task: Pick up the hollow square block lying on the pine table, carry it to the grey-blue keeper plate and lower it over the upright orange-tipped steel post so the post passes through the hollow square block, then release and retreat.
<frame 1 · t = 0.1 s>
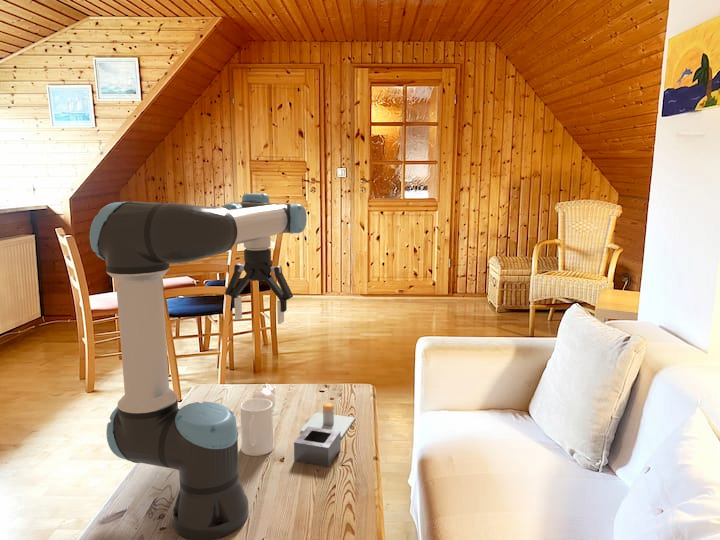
hand: (259, 320, 158), 28 cm above the table, fingers open, 13 cm apart
keeper: (328, 425, 154), on the table
hollow square block: (317, 455, 138), on the table
mug: (255, 451, 140), on the table
figurine: (264, 408, 166), on the table
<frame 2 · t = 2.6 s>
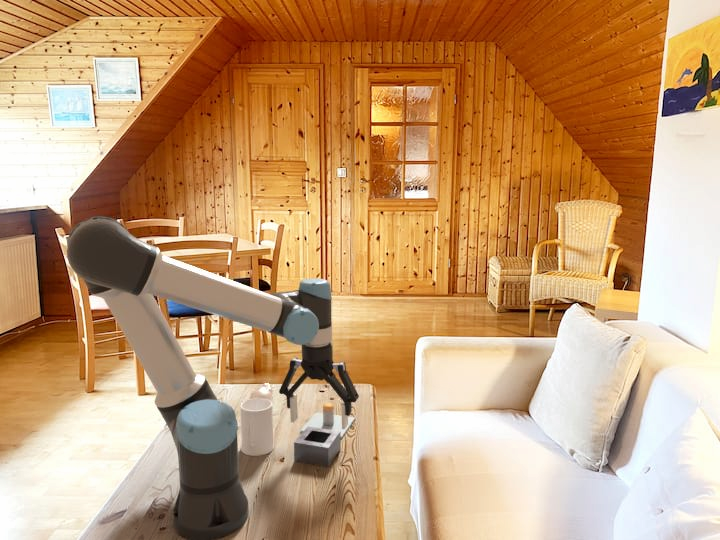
hand: (319, 423, 137), 8 cm above the table, fingers open, 13 cm apart
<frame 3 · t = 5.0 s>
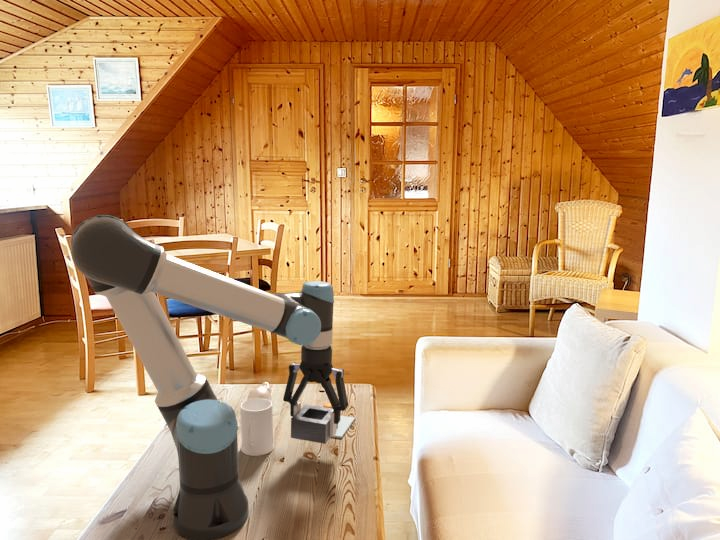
hand: (314, 431, 136), 7 cm above the table, fingers closed on hollow square block, 9 cm apart
hollow square block: (314, 432, 137), point 6 cm above the table, touching gripper
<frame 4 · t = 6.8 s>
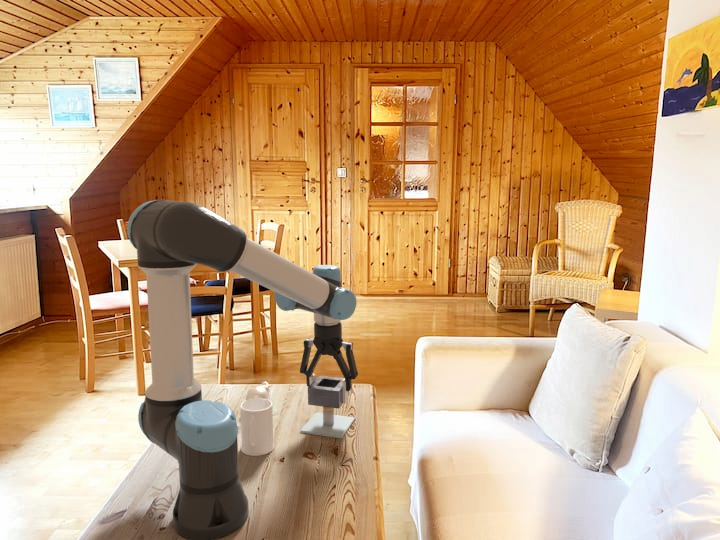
hand: (329, 399, 153), 8 cm above the table, fingers closed on hollow square block, 9 cm apart
hollow square block: (329, 399, 153), point 8 cm above the table, touching gripper
when the fingers open (1 cm above the table, at t = 8.8 s): hollow square block stays where it is, resting on keeper.
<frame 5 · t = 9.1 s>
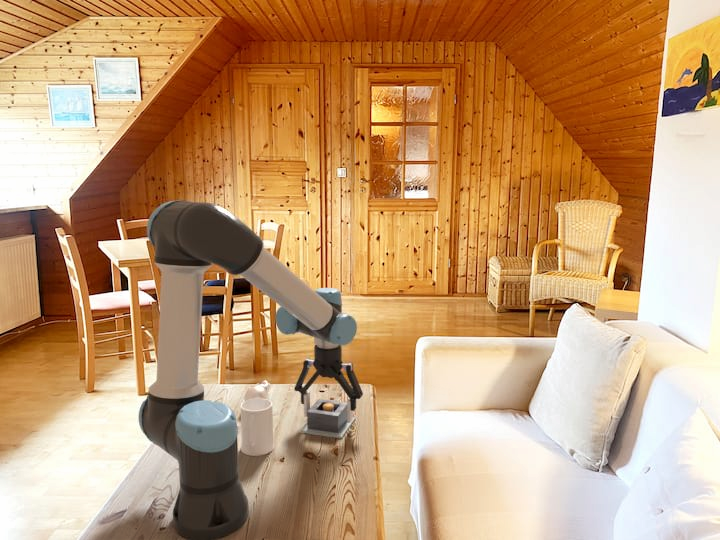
hand: (328, 417, 153), 2 cm above the table, fingers open, 12 cm apart
hollow square block: (328, 423, 154), point 1 cm above the table, touching keeper
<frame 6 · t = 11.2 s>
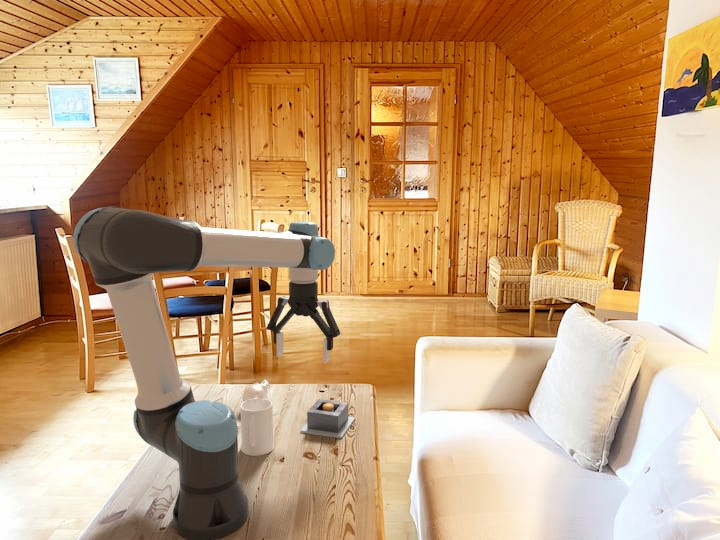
hand: (302, 358, 147), 21 cm above the table, fingers open, 13 cm apart
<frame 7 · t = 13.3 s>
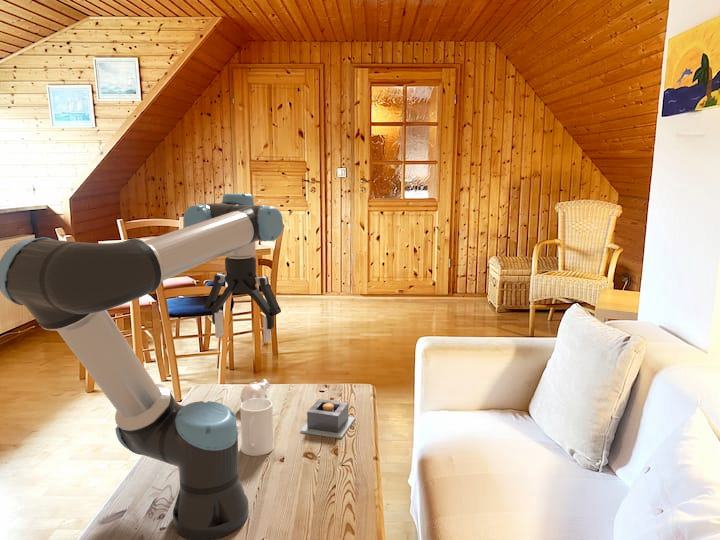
hand: (243, 338, 139), 29 cm above the table, fingers open, 13 cm apart
at the end: hollow square block 0.1 cm off-centre on the keeper, point 0.6 cm above the keeper's base; the gripper is holding nothing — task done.
